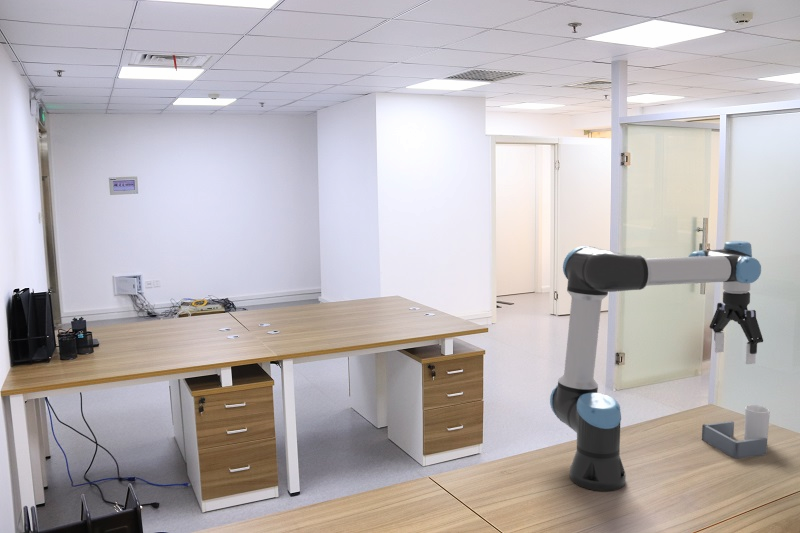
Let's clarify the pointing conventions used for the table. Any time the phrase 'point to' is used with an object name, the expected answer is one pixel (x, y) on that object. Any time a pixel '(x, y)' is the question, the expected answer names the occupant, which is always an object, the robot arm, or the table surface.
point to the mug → (756, 422)
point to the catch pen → (732, 441)
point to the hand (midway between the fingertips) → (734, 357)
